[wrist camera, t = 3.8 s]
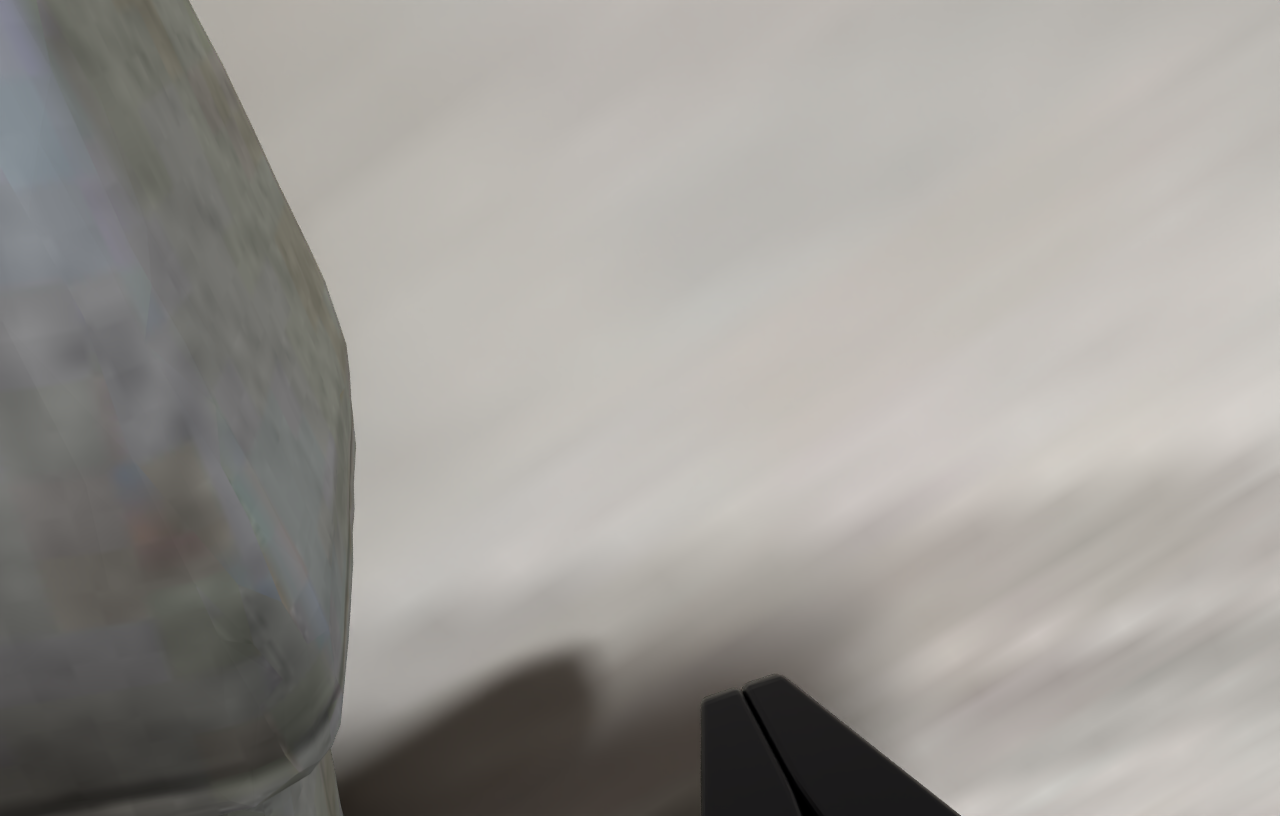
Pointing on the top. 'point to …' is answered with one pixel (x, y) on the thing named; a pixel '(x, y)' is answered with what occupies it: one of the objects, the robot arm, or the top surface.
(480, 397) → the top surface
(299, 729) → the handheld device
